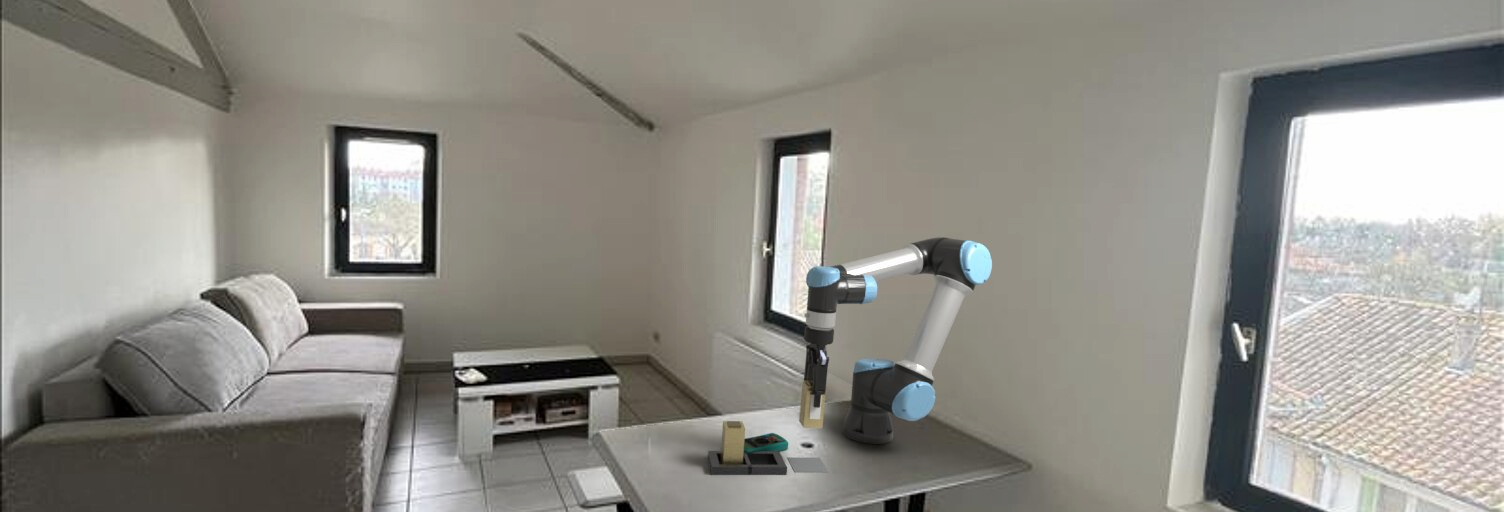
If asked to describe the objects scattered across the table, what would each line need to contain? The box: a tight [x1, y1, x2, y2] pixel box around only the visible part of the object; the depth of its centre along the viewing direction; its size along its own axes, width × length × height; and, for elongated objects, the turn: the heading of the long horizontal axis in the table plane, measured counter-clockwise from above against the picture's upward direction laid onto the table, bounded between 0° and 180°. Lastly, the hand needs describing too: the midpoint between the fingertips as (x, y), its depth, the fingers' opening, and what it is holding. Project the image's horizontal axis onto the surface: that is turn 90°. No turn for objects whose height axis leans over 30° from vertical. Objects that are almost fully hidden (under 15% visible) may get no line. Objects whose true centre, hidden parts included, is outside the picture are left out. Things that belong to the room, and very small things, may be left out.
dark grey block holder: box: [707, 450, 788, 476], centre depth 174 cm, size 19×10×2 cm, turn 100°
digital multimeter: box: [744, 432, 789, 452], centre depth 185 cm, size 7×15×3 cm, turn 127°
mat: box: [786, 456, 830, 474], centre depth 178 cm, size 9×9×1 cm
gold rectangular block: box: [720, 420, 746, 465], centre depth 173 cm, size 5×5×11 cm
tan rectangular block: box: [798, 379, 827, 429], centre depth 176 cm, size 5×5×11 cm
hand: (811, 414), depth 176 cm, fingers closed on tan rectangular block, 5 cm apart
